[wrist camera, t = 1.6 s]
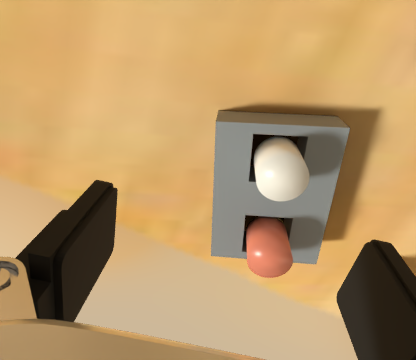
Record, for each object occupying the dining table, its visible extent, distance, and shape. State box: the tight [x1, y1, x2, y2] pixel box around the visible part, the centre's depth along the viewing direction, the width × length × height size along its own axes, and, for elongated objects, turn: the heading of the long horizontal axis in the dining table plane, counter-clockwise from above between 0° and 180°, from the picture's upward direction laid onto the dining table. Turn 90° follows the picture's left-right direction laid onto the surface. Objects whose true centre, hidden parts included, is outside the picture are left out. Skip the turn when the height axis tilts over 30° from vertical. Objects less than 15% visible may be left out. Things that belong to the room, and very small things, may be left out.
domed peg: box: [254, 137, 310, 201], centre depth 27 cm, size 4×4×4 cm
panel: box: [211, 111, 350, 264], centre depth 32 cm, size 12×16×4 cm
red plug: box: [246, 216, 293, 278], centre depth 31 cm, size 4×4×4 cm
